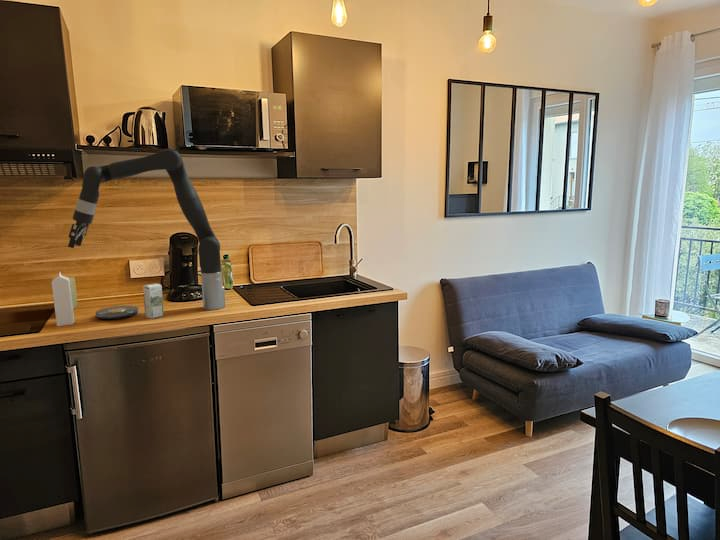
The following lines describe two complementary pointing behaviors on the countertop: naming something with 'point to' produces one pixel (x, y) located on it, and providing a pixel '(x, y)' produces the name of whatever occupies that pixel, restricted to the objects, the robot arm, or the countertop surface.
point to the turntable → (116, 312)
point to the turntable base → (117, 318)
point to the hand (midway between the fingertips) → (74, 246)
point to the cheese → (72, 291)
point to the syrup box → (153, 300)
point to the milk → (62, 300)
